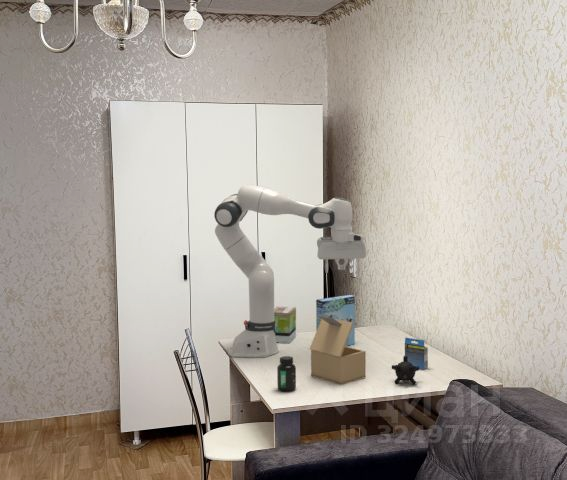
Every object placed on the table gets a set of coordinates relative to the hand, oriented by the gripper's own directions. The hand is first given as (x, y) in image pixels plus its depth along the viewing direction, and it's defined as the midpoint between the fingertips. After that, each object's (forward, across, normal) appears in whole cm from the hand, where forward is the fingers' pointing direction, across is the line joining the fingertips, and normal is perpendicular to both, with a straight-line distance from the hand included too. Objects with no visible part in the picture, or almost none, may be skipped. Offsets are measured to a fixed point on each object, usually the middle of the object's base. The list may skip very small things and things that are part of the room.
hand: (341, 269), depth 298 cm
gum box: (+39, +2, +24) cm, 46 cm away
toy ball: (+39, +18, -34) cm, 55 cm away
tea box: (+39, -20, +42) cm, 61 cm away
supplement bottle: (+39, -28, -35) cm, 60 cm away
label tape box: (+39, +28, -14) cm, 50 cm away
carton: (+39, -6, -22) cm, 45 cm away
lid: (+23, -9, -24) cm, 34 cm away
